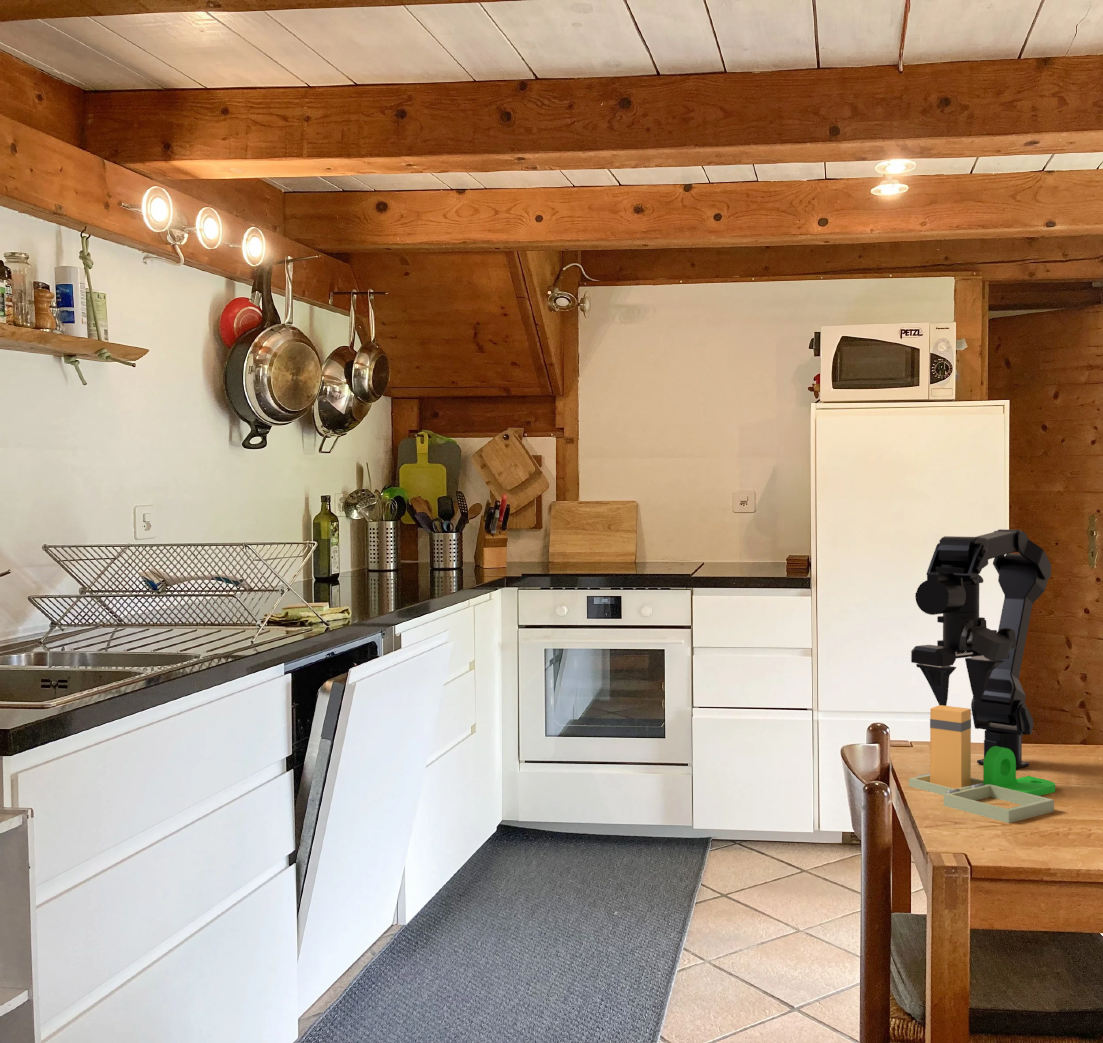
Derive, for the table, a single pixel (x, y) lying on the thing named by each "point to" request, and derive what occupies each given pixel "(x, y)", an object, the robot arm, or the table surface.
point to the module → (950, 746)
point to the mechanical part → (1011, 773)
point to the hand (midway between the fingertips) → (960, 703)
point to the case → (1028, 808)
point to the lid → (925, 784)
